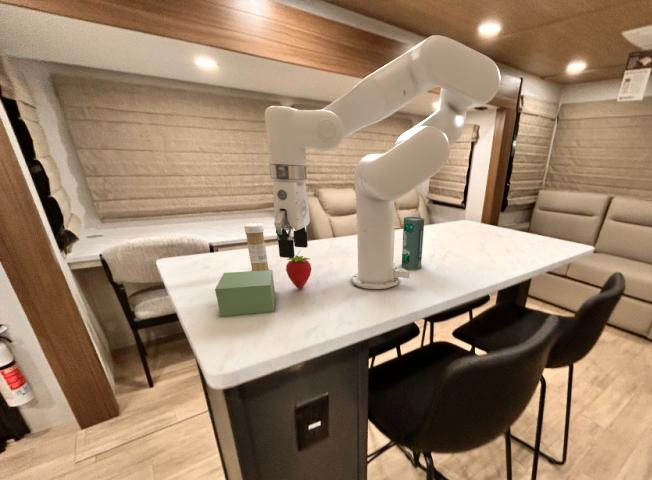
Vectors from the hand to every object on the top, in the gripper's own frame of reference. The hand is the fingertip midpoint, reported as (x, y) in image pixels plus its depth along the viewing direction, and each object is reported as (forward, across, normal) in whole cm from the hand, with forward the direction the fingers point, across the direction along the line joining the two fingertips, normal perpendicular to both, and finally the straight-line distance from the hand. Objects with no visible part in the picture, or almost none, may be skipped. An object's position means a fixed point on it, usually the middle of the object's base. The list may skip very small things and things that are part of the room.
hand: (294, 251), depth 73 cm
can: (+9, +23, -29) cm, 38 cm away
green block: (+10, -10, +7) cm, 16 cm away
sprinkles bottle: (+10, +11, +14) cm, 21 cm away
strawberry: (+10, 0, -1) cm, 10 cm away
